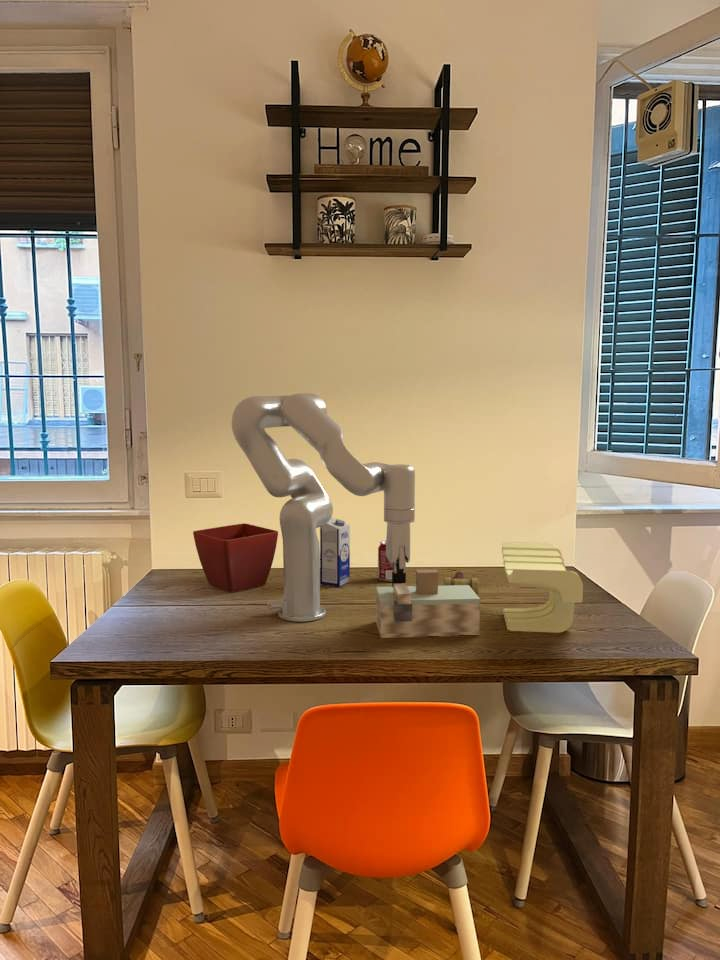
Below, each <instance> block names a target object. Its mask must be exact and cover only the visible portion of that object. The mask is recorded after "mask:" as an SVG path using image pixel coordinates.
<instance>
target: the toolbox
mask: <svg viewBox="0 0 720 960" xmlns="http://www.w3.org/2000/svg"><path fill="white" fill-rule="evenodd" d="M375 600H376V602H375V603H376V605H375V606H376V607H375V622H376V626H377V629H378V632H379V635H380V638H381V639H388V638H389V639H392V638H393V639H394V638H428V637H427V636H439V637H459V636H458V635H479V636H480V625H481V624H480V619H481V618H480V617H481V615H480V614H481V603H480V604H437V605H412V603H411V604H398V603H397V601H394V605H391V606H381V604H380V601H379V598H378V595H377V592H376V591H375ZM453 635H454V636H453ZM425 636H426V637H425Z"/></svg>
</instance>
